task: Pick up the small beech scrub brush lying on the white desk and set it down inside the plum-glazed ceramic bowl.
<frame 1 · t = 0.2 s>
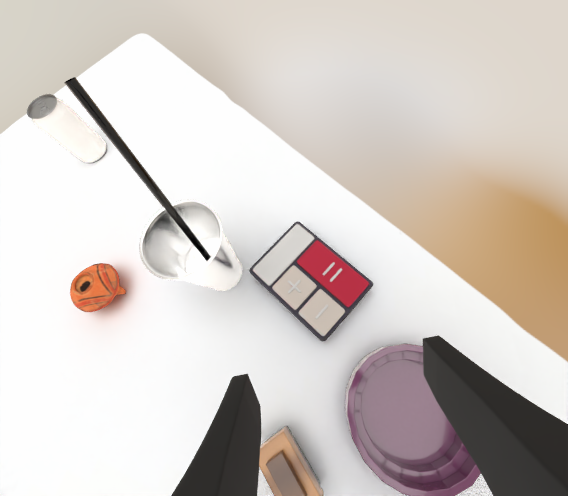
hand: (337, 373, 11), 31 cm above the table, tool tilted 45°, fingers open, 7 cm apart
scrub brush: (291, 462, 36), on the table
metal cup with straw: (222, 269, 47), on the table
calculator: (310, 281, 44), on the table
can: (94, 152, 60), on the table
bowl: (405, 408, 37), on the table
pot: (111, 291, 48), on the table
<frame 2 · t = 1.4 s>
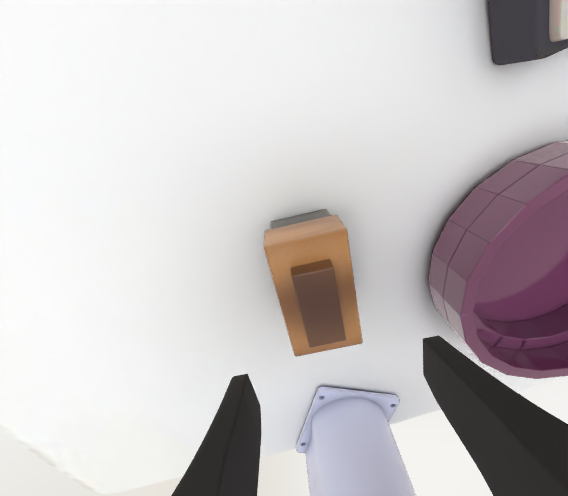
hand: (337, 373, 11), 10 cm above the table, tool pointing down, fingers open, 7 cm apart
scrub brush: (308, 262, 20), on the table
bowl: (530, 251, 21), on the table
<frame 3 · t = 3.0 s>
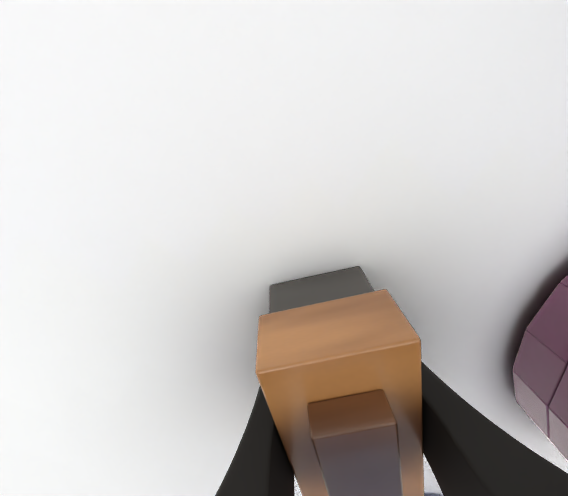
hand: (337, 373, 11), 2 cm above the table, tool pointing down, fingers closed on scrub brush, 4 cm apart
scrub brush: (327, 341, 13), on the table, touching gripper
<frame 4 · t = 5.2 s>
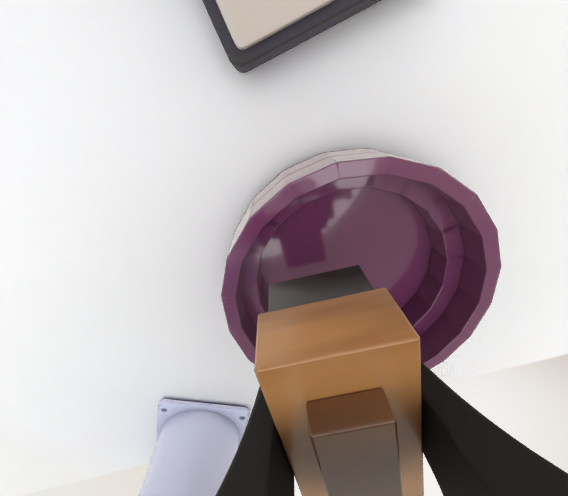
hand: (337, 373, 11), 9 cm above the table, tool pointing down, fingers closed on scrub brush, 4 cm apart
scrub brush: (327, 340, 13), point 8 cm above the table, touching gripper
bowl: (342, 263, 20), on the table
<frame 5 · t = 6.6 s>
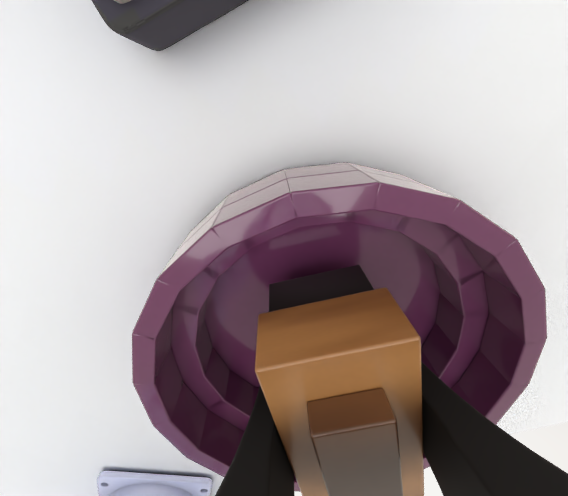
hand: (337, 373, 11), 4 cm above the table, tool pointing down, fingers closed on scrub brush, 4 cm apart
scrub brush: (327, 340, 13), point 2 cm above the table, touching gripper
bowl: (321, 312, 15), on the table
when the fingers open (2 cm above the table, at t = 7.6 s): scrub brush stays where it is, resting on bowl.
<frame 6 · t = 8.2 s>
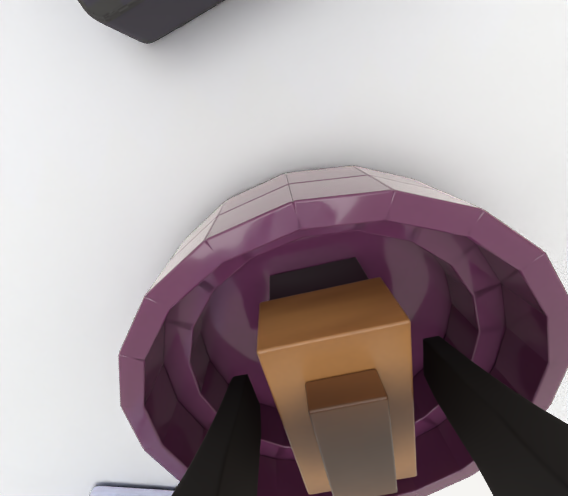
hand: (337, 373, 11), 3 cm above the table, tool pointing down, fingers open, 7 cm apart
scrub brush: (325, 330, 14), point 1 cm above the table, touching bowl
bowl: (324, 323, 14), on the table
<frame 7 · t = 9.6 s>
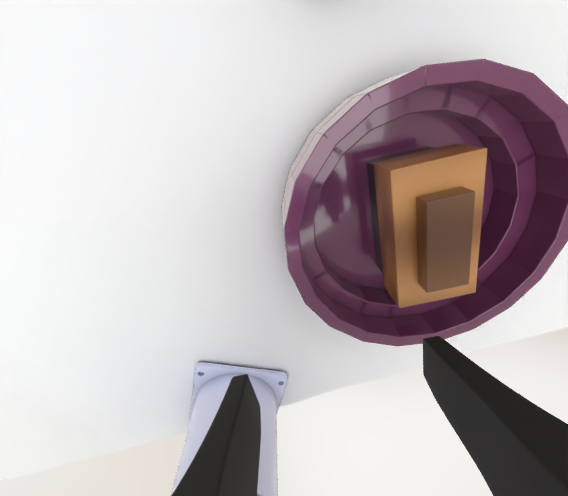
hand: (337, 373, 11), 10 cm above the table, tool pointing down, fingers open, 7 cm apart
scrub brush: (400, 211, 18), point 1 cm above the table, touching bowl
bowl: (396, 209, 19), on the table
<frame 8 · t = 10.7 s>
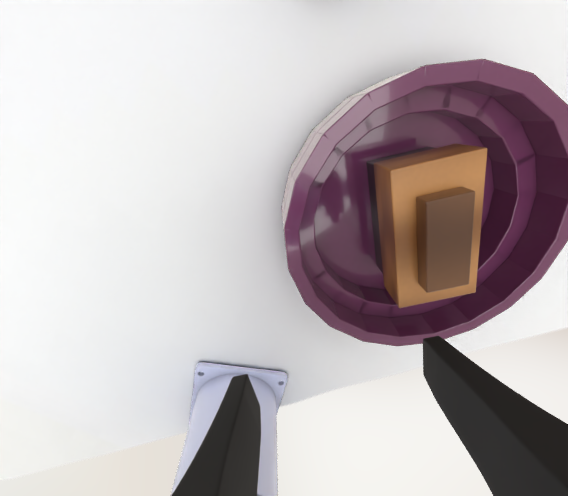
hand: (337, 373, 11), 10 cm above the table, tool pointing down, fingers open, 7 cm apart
scrub brush: (400, 211, 18), point 1 cm above the table, touching bowl
bowl: (396, 209, 19), on the table
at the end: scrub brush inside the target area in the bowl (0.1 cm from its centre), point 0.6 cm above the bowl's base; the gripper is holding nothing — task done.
